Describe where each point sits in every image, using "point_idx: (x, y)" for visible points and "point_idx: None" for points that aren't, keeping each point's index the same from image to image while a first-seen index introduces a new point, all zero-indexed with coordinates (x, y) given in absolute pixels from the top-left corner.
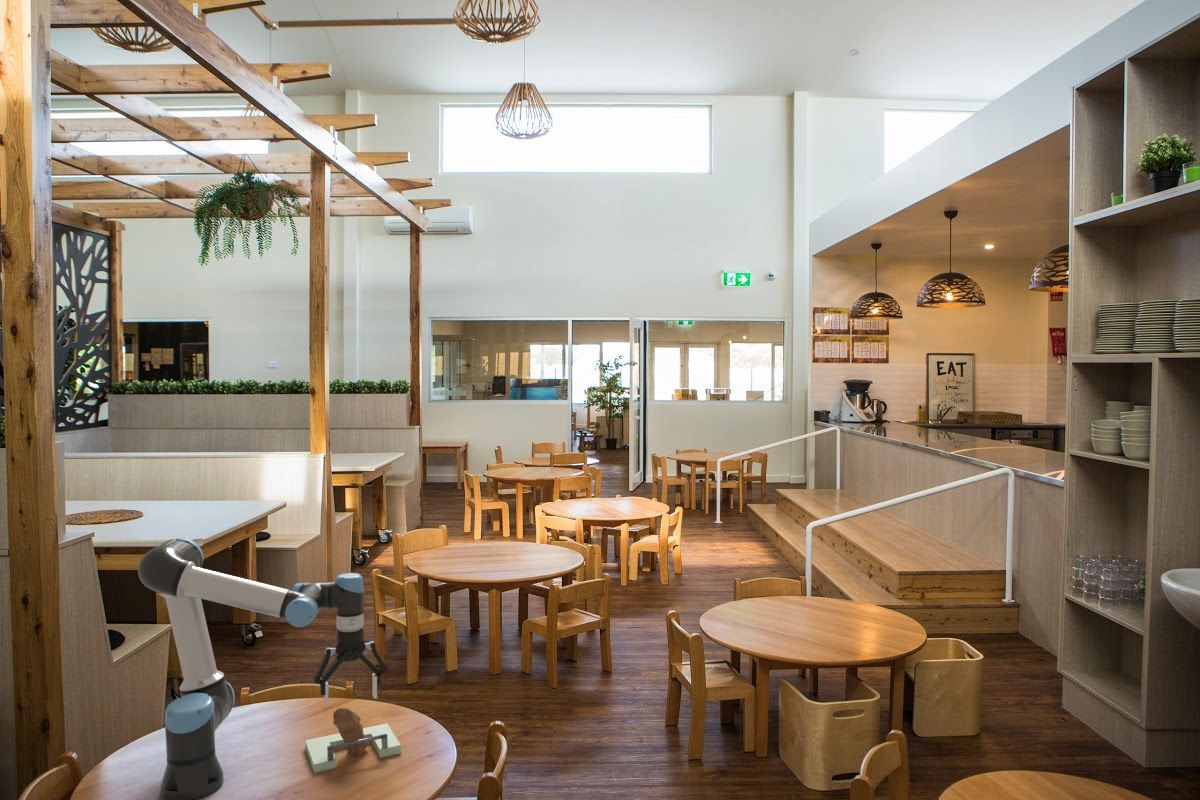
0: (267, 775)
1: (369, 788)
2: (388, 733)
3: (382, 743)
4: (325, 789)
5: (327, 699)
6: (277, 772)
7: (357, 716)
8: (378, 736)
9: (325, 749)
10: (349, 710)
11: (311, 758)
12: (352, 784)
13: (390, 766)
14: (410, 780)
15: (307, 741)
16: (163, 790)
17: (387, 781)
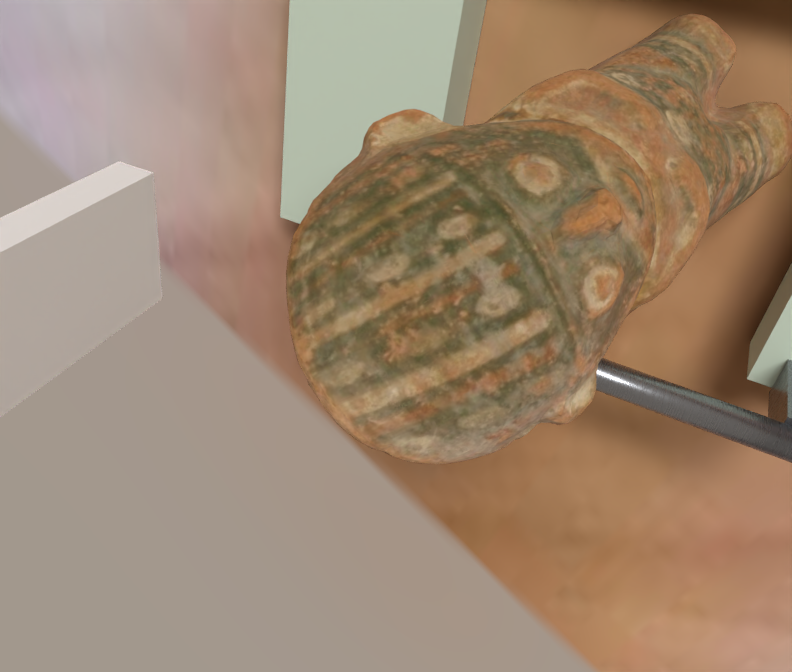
0: (81, 11)
1: (489, 553)
2: None
3: (771, 413)
4: (319, 402)
5: (73, 348)
6: (130, 13)
7: (537, 421)
8: (735, 439)
9: (405, 38)
10: (406, 458)
11: (288, 104)
12: (440, 465)
13: (718, 484)
14: (693, 660)
15: None
16: None
17: (594, 578)
